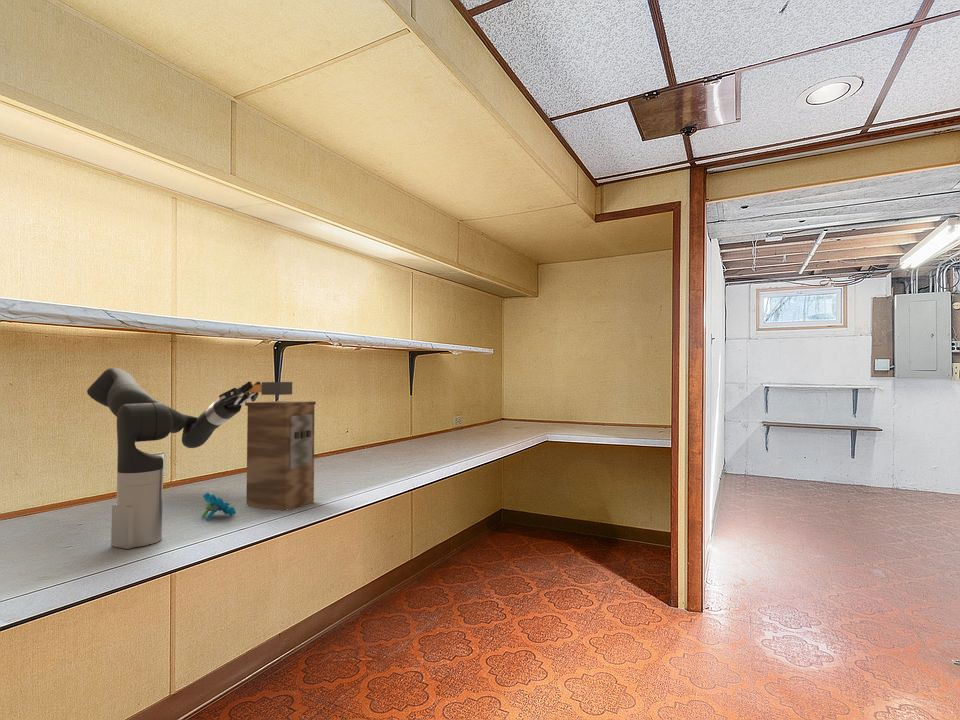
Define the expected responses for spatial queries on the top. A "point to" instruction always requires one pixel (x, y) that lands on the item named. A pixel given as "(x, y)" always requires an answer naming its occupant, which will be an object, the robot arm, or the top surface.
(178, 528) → the top surface
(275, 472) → the stand
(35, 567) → the top surface
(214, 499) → the teal plastic lumpy figure
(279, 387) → the block
